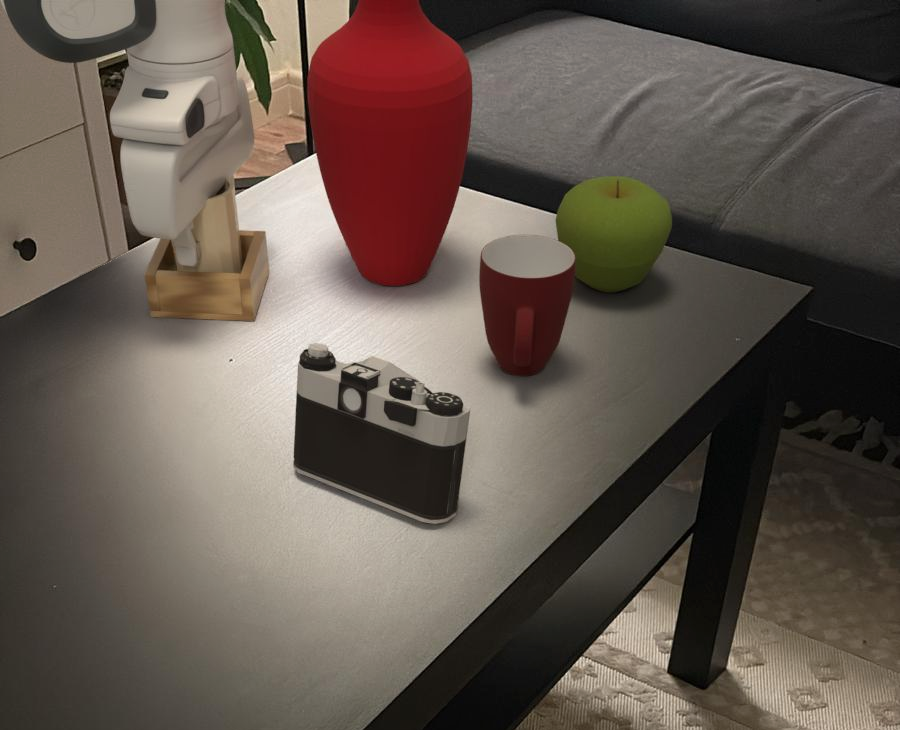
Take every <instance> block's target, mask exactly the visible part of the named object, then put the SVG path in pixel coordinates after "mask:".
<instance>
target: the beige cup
mask: <svg viewBox="0 0 900 730" xmlns="http://www.w3.org/2000/svg"><path fill="white" fill-rule="evenodd" d="M239 230H240V224H239V216H238V206H237V197H236V188H235V183H233V181H232V180H231V179H230V178H229V177H227V178H226V184H225V185H224V186H223V187H222V188H221V189H220V190H219V192H218V193H217V194H216V195H215V196H214V197H212V198H208V199H207V200H206V206H205V207H204V208H203V209H202V210H201V211H200V212H199V213H198V215H197V216H196V217H195V218H194V219H193V229H192V230H191V232H192V235H193V237H194V240H196V241H200V252H201V258H200V260H199V261H198V262H197V263H196V264H195V265H194V266H192V267H191V266H185V265H181V264H179V263H178V261H177V255H176V249H175V246H174V244H173V242H172V241H171V242H172V248H173V255H174V262H175V269H176V271H189V272H215V273H240V274H241V272H242V269H243V261H242V251H241V242H240V233H239Z"/></svg>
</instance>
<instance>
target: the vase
mask: <svg viewBox="0 0 900 730" xmlns="http://www.w3.org/2000/svg"><path fill="white" fill-rule="evenodd" d="M419 1H420V0H358V1H357V5H356V7H355V10H354V12H353V14H352V15H351V17H350V18H349V19H348V21H346V22H345V23H344V24H343V25H342V26H341V27H340V28H339V29H337V30H335V31H334V32H333V33H332V34H330V35H329V36H328V37H326V38H325V39H324V40H322V41H321V43H320V44H319V45H318V46H317V48H316V49H315V51H314V53H313V54H312V56H311V59H310V63H309V68H308V74H307V82H306V83H307V104H308V105H307V106H308V113H309V115H308V116H309V121H310V129H311V134H312V139H313V145H314V150H315V155H316V160H317V164H318V167H319V172H320V175H321V179H322V180H321V181H322V183H323V187H324V190H325V193H326V197H327V200H328V203H329V206H330V208H331V211H332V214H333V216H334V219H335V222H336V225H337V227H338V229H339V231H340V234H341V236H342V238H343V241H344V242H345V243H344V244H345V246H346V247H347V249H348V252H349V254H350V256H351V258H352V260H353V262H354V265H355V267H356V269H357V271H358V272H359V274H360V275H361V276H362V277H363V278H364V279H366V280H367V281H369V282H371V283H373V284H377V285H380V286H381V285H382V286H387V287H396V286H397V287H398V286H399V287H400V286H406V285H410V284H414V283H416V282H419V281H420V280H421V279H423V278H424V277H425V276H426V275H427V274H428V272H429V270H430V268H431V266H432V264H433V262H434V259H435V257H436V254H437V252H438V250H439V247H440V245H441V243H442V240H443V237H444V235H445V233H446V231H447V227H448V225H449V223H450V219H451V217H452V214H453V212H454V208H455V204H456V201H457V199H458V195H459V191H460V187H461V184H462V178H463V175H464V169H465V166H466V165H465V164H466V159H467V156H468V155H467V154H468V147H469V141H470V133H471V126H472V112H473V74H472V70H471V66H470V61H469V58H468V57H467V55H466V54H465V51H463V49H462V47H461V45H460V44H459V43H458V42H457V41H456V40H454V39H453V38H452V37H450V36H449V35H448V34H446V33H445V32H444V31H443V30H441V29H439V28H438V27H437V26H436V25H435V24H433V23H432V21H430V20H429V18H428V17H427V15H426V14H425V13H424V11H423V9H422V6H421V4H420V2H419Z"/></svg>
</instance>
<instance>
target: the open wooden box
mask: <svg viewBox="0 0 900 730" xmlns="http://www.w3.org/2000/svg"><path fill="white" fill-rule="evenodd" d="M239 233H240V242H241V251H242V261H243V269H242V272H241V274H240V273H215V272H189V271H176V269H175V262H174V255H173V248H172V242H171V239H160V238H159V240H158V242H157V245H156V247H155V250H154V252H153V254H152V256H151V258H150V261H149V262H148V266H147V267H146V270H145V272H144V274H143V277H144V282H145V283H144V284H145V288H146V293H147V295H146V296H147V300H148V305H149V313H150V318H164V319H165V318H169V319H191V320H194V319H195V320H214V321H215V320H216V321H217V320H218V321H241V322H242V321H243V322H255V319H256V317H257V313H258V311H259V307H260V303H261V300H262V297H263V294H264V291H265V288H266V285H267V284H266V283H267V281H268V277H269V275H270V267H269V266H270V265H269V254H268V244H267V233H266V230H243V229H242V230H241V229H239Z"/></svg>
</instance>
